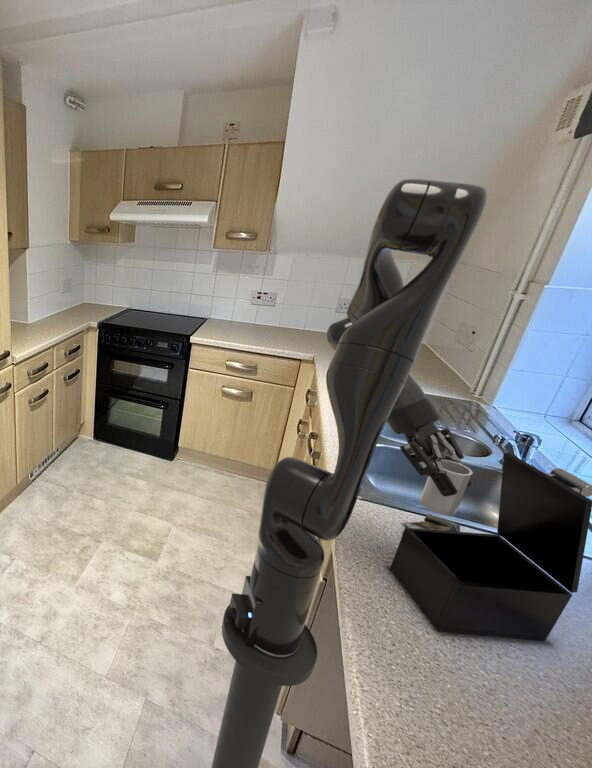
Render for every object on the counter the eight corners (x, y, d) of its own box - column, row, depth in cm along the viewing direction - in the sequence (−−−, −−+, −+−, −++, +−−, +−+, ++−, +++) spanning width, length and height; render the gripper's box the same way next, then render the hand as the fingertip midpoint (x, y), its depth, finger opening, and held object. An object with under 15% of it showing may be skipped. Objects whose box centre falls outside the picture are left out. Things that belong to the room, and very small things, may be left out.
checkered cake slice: (391, 518, 97) (412, 510, 87) (425, 514, 96) (450, 506, 85) (409, 562, 93) (433, 559, 82) (445, 558, 91) (474, 555, 81)
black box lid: (586, 501, 59) (631, 495, 58) (503, 453, 71) (539, 447, 70) (571, 593, 64) (612, 588, 63) (497, 532, 77) (530, 528, 76)
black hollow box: (438, 631, 69) (459, 585, 66) (389, 569, 82) (405, 527, 78) (545, 641, 68) (573, 594, 64) (478, 576, 81) (498, 534, 77)
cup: (432, 514, 74) (448, 474, 71) (413, 496, 79) (427, 458, 76) (463, 516, 74) (480, 476, 71) (441, 498, 79) (457, 460, 76)
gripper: (404, 403, 72) (464, 497, 67) (442, 390, 79) (500, 475, 74) (364, 418, 79) (416, 506, 73) (402, 405, 85) (453, 484, 80)
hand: (458, 490), depth 73 cm, fingers closed on cup, 5 cm apart
